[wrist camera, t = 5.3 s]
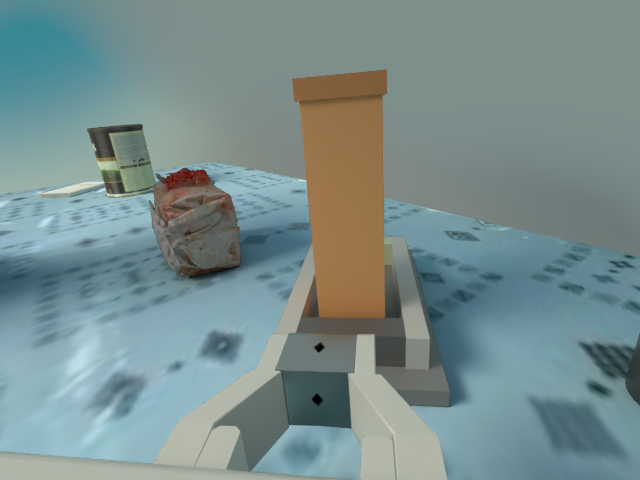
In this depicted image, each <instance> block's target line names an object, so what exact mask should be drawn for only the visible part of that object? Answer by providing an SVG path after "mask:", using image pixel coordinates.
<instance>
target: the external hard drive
mask: <svg viewBox="0 0 640 480" xmlns="http://www.w3.org/2000/svg"><path fill="white" fill-rule="evenodd" d="M102 187H105V185H104V182H84V183H81V184H77V185H73V186H69V187H65V188H61V189H57V190H53V191H49V192H46V193H42V194H40V197H41V198H57V197H72V196H76V195H79V194H82V193H86V192H89V191H92V190H95V189H99V188H102Z"/></svg>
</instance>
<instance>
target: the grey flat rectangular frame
mask: <svg viewBox="0 0 640 480" xmlns="http://www.w3.org/2000/svg"><path fill="white" fill-rule="evenodd" d="M384 270H385V318H319V310H318V299H317V288H316V278H315V267H314V256H313V245H312V244H311V246H310V248H309V251H308V253H307V256H306V258H305V261H304V263H303V265H302V268H301V270H300V273H299V275H298V278H297V280H296V282H295V285H294V287H293V290H292V292H291V295H290V297H289V299H288V302H287V304H286V307H285V309H284V312H283V314H282V316H281V319H280V321H279V324H278V326H277V329H276V331H275V333H306V334H323V335H357V334H374V335H375V350H376V374H380V375H382V376H383V377H384V378H385V379H386V380H387V381H388V382H389V384H390V385H391V386H392V387H393V388H394V389H395V390H396V391H397V392H398V393H399V395H400V396H401V397H402V398H403V399H404V400H405V401H406V402H407V403H408V404H409V405H419V406H441V407H449V399H450V390H449V386H448V382H447V379H446V375H445V372H444V368H443V364H442V361H441V357H440V353H439V350H438V346H437V343H436V339H435V335H434V332H433V328H432V324H431V321H430V317H429V314H428V310H427V306H426V303H425V299H424V295H423V292H422V288H421V285H420V281H419V277H418V274H417V270H416V266H415V263H414V259H413V256H412V252H411V250H407V246H406V242H405V238H404V236H391V237H384Z"/></svg>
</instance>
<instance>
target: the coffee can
mask: <svg viewBox="0 0 640 480" xmlns="http://www.w3.org/2000/svg"><path fill="white" fill-rule="evenodd" d="M87 131H88V133H89V135H90V139H91V142H92V145H93V148H94V152H95V155H96V158H97V161H98V165H99V168H100V171H101V175H102V178H103V181H104V185H105V188H106V191H107V196H109V197H127V196H134V195H139V194H144V193H148V192H151V191H153V187H154V185H155V184H156V182H155V178H154V174H153V170H152V166H151V163H150V158H149V154H148V150H147V146H146V142H145V138H144V134H143V130H142V124H132V125H121V126H109V127H98V128H89V129H87Z"/></svg>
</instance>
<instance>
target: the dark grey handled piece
mask: <svg viewBox="0 0 640 480" xmlns="http://www.w3.org/2000/svg"><path fill="white" fill-rule="evenodd" d="M625 384H626V388H627V390H628V392H629V394H630V395H631V396H632V398H633V399H634V400H635V401H636V402H637V403H638V404H639V405H640V334H639V337H638V341H637V344H636V347H635V351H634V354H633V357H632V361H631V364H630V367H629V370H628V374H627V377H626V382H625Z"/></svg>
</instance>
